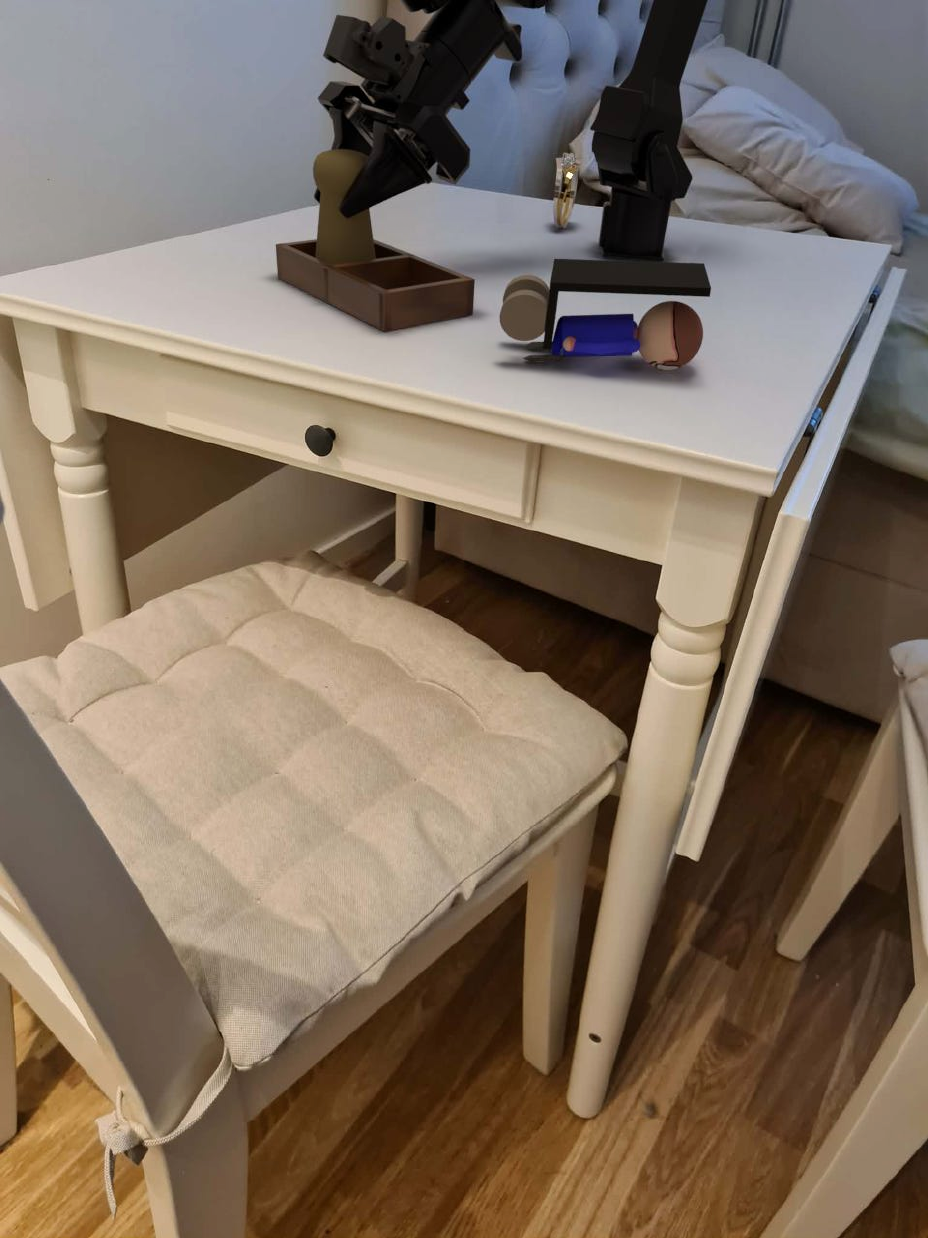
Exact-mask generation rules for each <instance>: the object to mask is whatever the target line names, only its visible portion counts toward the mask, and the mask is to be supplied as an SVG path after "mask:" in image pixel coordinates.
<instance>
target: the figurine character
mask: <svg viewBox="0 0 928 1238" xmlns="http://www.w3.org/2000/svg"><path fill="white" fill-rule="evenodd" d="M560 292H563V293H564V292H567V293H591V294H592V293H593V294H594V293H595V294H620V295H622V294H624V295H646V296H647V295H648V296H649V295H650V296H651V295H652V296H676V297H677V296H678V297H702V298H703V297H704V298H705V297H706V298H710V297H711V292H712V286H711V282H710V278H709V275H708V272H707V269H706V265H705V263H701V262H674V261H673V262H672V261H669V262H668V261H644V260H639V261H638V260H613V259H612V260H611V259H610V260H608V259H580V258H579V259H576V258H553V263H552V270H551V275H550V280H549V285H548V284H547V283H546V281H545V280H544V279H542V278H540V277H539V276H537V275H533V274H522V275H518V276H516V277H514V278H513V279H512V280H511V281H509V283H507V285H506V287H505V290H504V293H503V296H502V305H501V308H500V311H499V324H500V327H501V329H502V330H503V332H504V333H505V334H506V335H507V336H508V337H509V338H511V339H513V340H516V341H520V342H529V341H531V342H529V343H527V344H526V345H524V348H526V349H528V350H530V351H551V354H529V355H527V356H525V357H523V358H522V359H523V360H525V361H527V362H529V363H531V362H533V363H534V362H560V361H562V360H565V359H566V358H592V357H593V358H595V357H597V358H598V357H631V356H633V355H634V353H637V352H639V354H640V356H641V358H642V359H643V360H644V361H645V362H646V363H647V364H648V365H649V366H652V367H653V368H655V369H658V370H664V371H672V370H677V369H680V368H682V367H684V366H686V365H687V364H689V363H690V362H691V361H692V360H693V359H694V358H695V357H696V355H698V353H699V351H700V349H701V347H702V343H703V339H704V327H703V323H702V320H701V318H700V316H699V314H698V313H697V312H696V311H695V309H693V307H692V306H690V305H688V304H687V303H684V302H681V301H678V300H677V301H676V300H667V301H663V302H660V303H657V304H655V305H653V306H652V307H650V308H649V309H648V310H647V311H646V312H645V313H644V314H643V315H642V317H641V319H640V321H639V323H638V322H637V321H635V318H634V317H635V316H634V313H612V314H611V313H609V314H608V313H606V314H577V315H576V314H574V315H572V314H571V315H561V316H560V317H559V318H558V320H557V322H556V315H557V308H558V301H559V293H560ZM555 324H556V326H555ZM542 335H544V336H543V341H535V340H536V339H538V338H540V337H541V336H542Z"/></svg>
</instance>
